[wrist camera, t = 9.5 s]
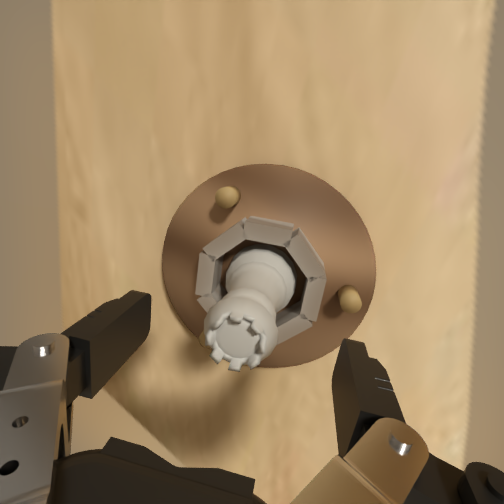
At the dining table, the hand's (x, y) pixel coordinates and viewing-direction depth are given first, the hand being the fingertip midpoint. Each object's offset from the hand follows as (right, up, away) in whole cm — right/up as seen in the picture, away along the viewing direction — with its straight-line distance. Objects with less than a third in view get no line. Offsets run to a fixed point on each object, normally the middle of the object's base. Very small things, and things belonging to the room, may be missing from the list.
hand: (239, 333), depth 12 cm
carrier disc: (+1, +2, +8) cm, 9 cm away
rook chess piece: (+1, +2, +7) cm, 8 cm away
